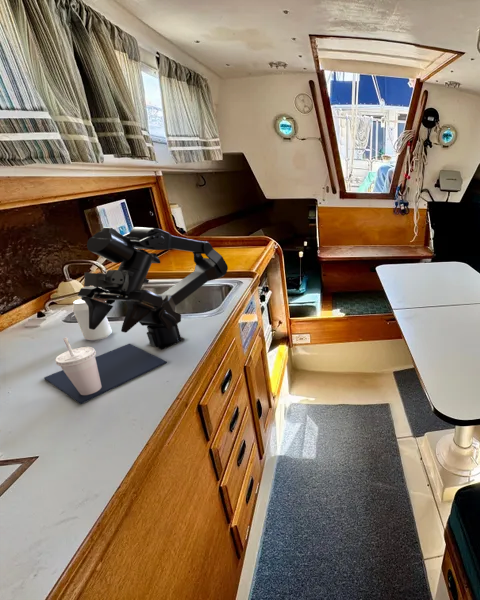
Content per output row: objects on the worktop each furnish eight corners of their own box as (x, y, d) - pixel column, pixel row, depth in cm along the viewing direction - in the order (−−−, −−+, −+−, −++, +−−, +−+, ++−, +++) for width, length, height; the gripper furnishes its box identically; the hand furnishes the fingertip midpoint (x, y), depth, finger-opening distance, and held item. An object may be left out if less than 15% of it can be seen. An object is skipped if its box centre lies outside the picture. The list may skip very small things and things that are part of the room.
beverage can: (109, 329, 100) (95, 294, 95) (116, 336, 97) (102, 299, 92) (82, 337, 95) (67, 300, 90) (89, 344, 92) (73, 306, 87)
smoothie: (63, 399, 71) (36, 344, 65) (88, 380, 77) (66, 329, 71) (93, 399, 71) (69, 345, 65) (116, 381, 77) (95, 329, 71)
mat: (130, 344, 92) (129, 343, 92) (167, 362, 85) (166, 361, 85) (44, 379, 78) (43, 377, 77) (80, 404, 70) (79, 402, 70)
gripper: (68, 255, 76) (36, 318, 71) (135, 258, 73) (106, 324, 68) (114, 274, 86) (88, 331, 81) (174, 278, 83) (151, 336, 78)
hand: (107, 330), depth 77 cm, fingers open, 9 cm apart
